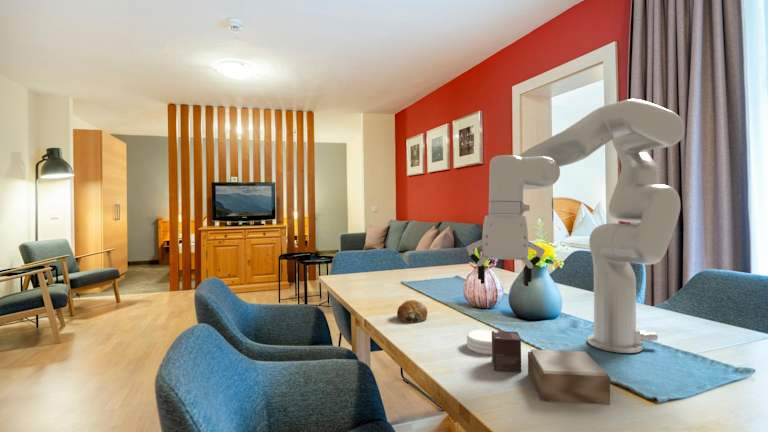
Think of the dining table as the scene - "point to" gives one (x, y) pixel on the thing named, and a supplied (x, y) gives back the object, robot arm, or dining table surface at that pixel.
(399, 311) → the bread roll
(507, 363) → the box
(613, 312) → the robot arm
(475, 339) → the coaster
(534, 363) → the plinth
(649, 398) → the dining table surface
